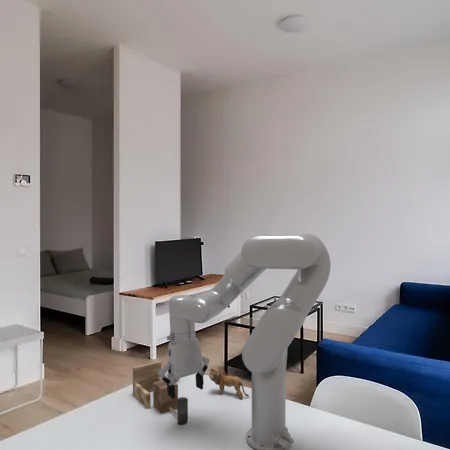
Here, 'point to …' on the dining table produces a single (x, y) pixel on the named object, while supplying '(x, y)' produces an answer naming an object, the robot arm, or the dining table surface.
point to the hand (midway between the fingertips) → (186, 392)
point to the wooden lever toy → (170, 402)
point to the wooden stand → (145, 381)
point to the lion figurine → (226, 381)
